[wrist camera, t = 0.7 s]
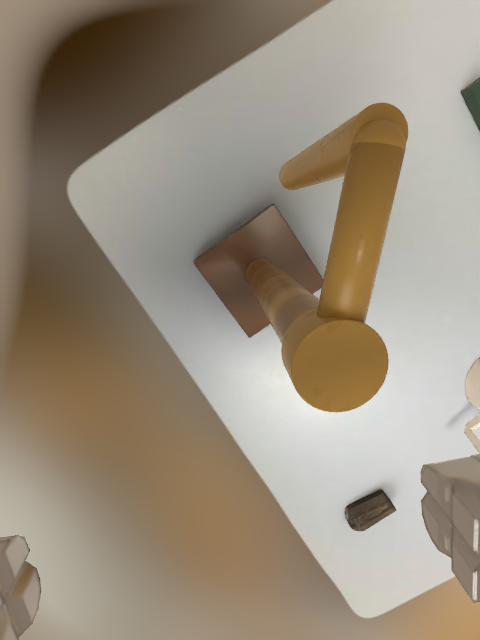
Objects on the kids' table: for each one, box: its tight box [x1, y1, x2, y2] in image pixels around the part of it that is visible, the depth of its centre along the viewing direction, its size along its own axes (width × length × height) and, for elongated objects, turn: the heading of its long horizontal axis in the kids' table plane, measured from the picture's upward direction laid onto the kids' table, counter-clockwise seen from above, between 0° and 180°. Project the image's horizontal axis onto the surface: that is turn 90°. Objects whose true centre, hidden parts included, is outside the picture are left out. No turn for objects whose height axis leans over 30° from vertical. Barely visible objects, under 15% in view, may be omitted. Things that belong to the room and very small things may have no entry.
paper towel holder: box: [194, 204, 323, 343], centre depth 31 cm, size 10×10×26 cm
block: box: [345, 490, 396, 531], centre depth 51 cm, size 4×6×2 cm, turn 127°
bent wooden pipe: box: [279, 103, 408, 412], centre depth 24 cm, size 12×4×18 cm, turn 171°
